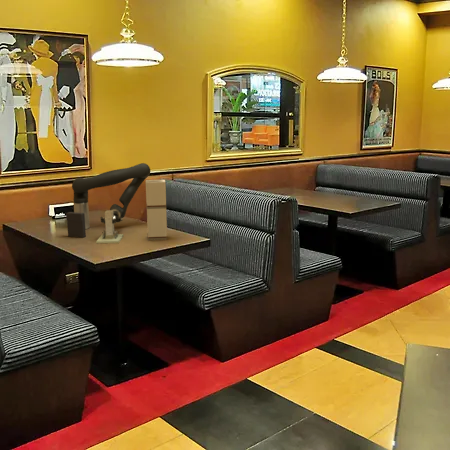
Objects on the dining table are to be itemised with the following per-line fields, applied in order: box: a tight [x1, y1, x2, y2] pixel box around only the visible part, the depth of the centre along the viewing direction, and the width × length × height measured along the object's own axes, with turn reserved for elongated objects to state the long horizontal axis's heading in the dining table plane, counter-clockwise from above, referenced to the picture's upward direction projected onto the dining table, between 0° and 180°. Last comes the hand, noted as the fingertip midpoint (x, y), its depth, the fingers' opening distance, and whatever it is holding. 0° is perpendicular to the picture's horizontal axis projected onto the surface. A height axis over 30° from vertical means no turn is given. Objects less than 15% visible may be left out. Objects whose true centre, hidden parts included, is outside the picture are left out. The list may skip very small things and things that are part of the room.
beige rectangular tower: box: [145, 179, 168, 241], centre depth 331 cm, size 11×11×35 cm
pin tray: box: [95, 229, 124, 244], centre depth 330 cm, size 13×18×5 cm
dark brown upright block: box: [65, 211, 87, 239], centre depth 338 cm, size 11×4×15 cm, turn 71°
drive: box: [104, 209, 115, 235], centre depth 329 cm, size 4×6×14 cm, turn 2°
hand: (108, 222), depth 326 cm, fingers closed on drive, 4 cm apart
